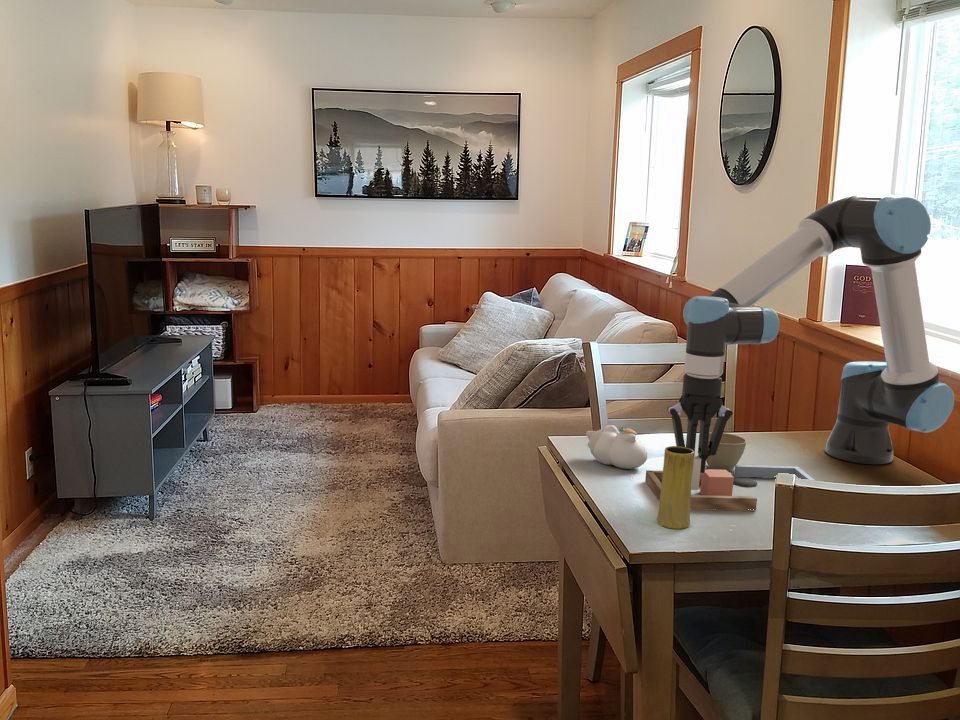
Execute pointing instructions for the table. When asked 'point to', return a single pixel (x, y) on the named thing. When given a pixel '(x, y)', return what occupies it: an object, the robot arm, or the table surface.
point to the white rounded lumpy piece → (617, 447)
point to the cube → (716, 483)
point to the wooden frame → (704, 496)
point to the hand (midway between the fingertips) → (693, 487)
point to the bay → (768, 471)
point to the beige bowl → (727, 452)
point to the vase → (676, 488)
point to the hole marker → (744, 482)
